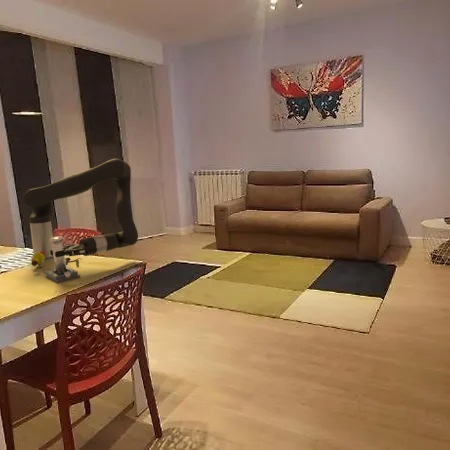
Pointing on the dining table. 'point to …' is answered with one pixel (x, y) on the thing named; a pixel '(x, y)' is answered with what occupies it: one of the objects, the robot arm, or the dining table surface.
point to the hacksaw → (73, 261)
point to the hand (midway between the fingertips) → (53, 253)
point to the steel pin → (59, 261)
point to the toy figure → (38, 259)
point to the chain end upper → (54, 275)
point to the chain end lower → (66, 278)
